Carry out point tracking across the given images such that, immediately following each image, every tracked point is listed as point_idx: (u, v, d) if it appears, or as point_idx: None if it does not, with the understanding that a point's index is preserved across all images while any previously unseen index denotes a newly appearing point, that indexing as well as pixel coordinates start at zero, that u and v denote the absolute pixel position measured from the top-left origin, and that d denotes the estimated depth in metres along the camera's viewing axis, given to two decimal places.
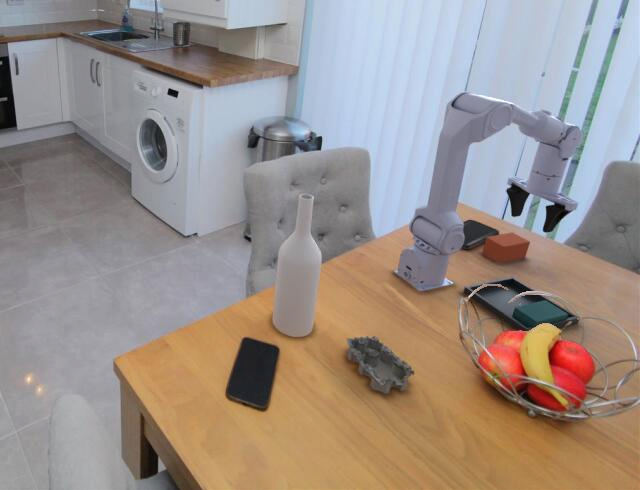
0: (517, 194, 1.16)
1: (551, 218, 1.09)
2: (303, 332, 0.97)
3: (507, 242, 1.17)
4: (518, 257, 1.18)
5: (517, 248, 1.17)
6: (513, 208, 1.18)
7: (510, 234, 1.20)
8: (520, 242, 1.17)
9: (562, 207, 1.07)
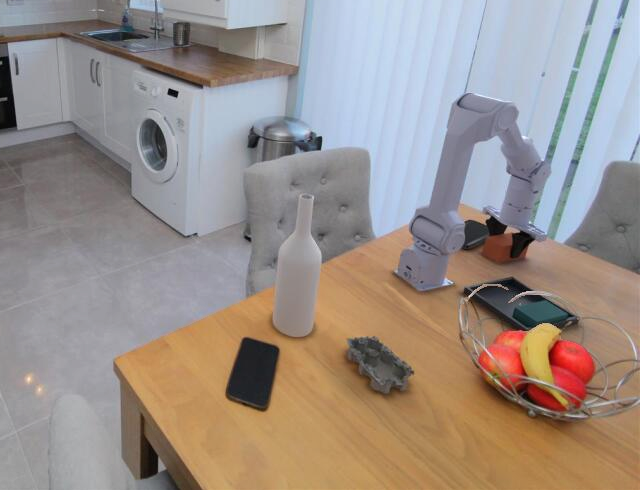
0: (496, 225, 1.19)
1: (517, 245, 1.14)
2: (303, 332, 0.97)
3: (507, 242, 1.17)
4: (518, 257, 1.18)
5: None
6: None
7: (510, 234, 1.20)
8: None
9: (527, 235, 1.13)
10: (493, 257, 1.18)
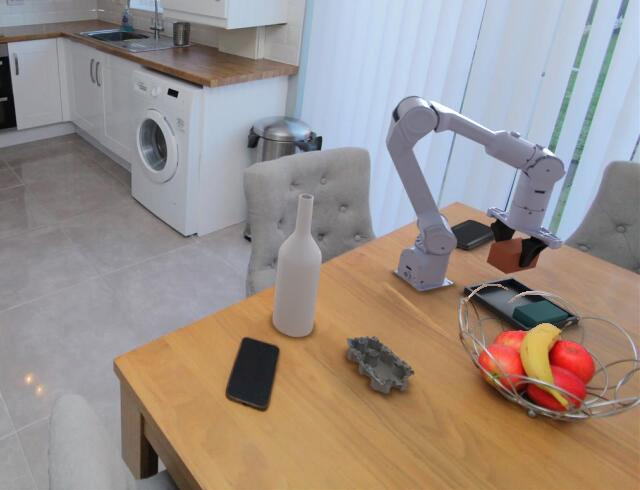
0: (502, 230, 1.04)
1: (527, 253, 1.00)
2: (303, 332, 0.97)
3: (515, 248, 1.02)
4: None
5: None
6: None
7: (518, 239, 1.06)
8: None
9: (539, 241, 0.98)
10: (500, 266, 1.04)
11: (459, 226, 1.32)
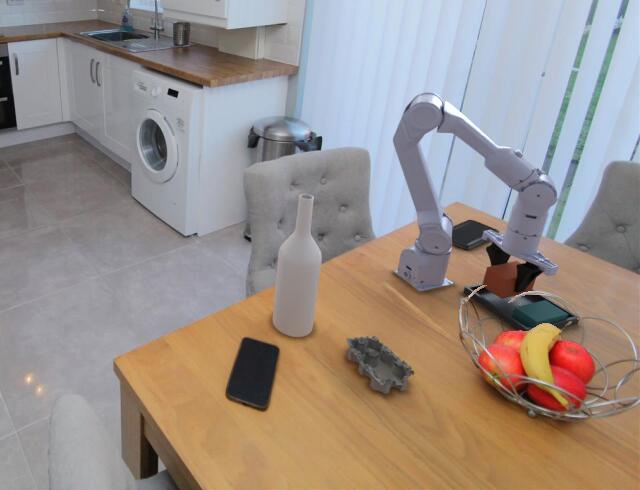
0: (498, 254, 1.03)
1: (522, 278, 0.99)
2: (303, 332, 0.97)
3: (511, 273, 1.01)
4: None
5: None
6: None
7: (514, 263, 1.04)
8: None
9: (534, 267, 0.97)
10: (495, 290, 1.03)
11: (459, 226, 1.32)
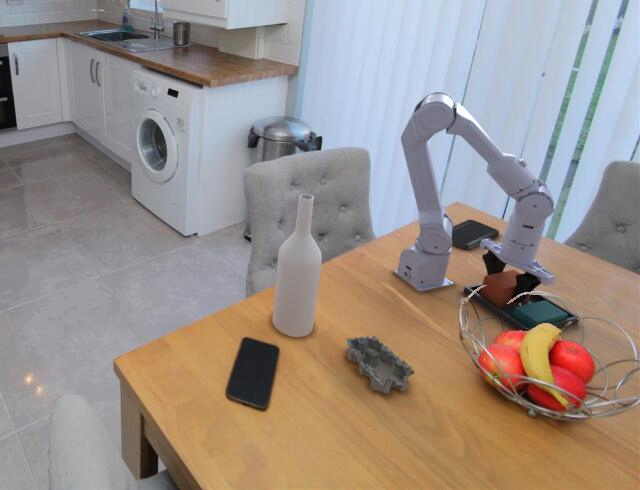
0: (494, 262, 1.05)
1: (522, 288, 0.99)
2: (303, 332, 0.97)
3: (508, 282, 1.02)
4: None
5: None
6: None
7: (512, 272, 1.05)
8: None
9: (533, 278, 0.97)
10: (492, 299, 1.03)
11: (459, 226, 1.32)
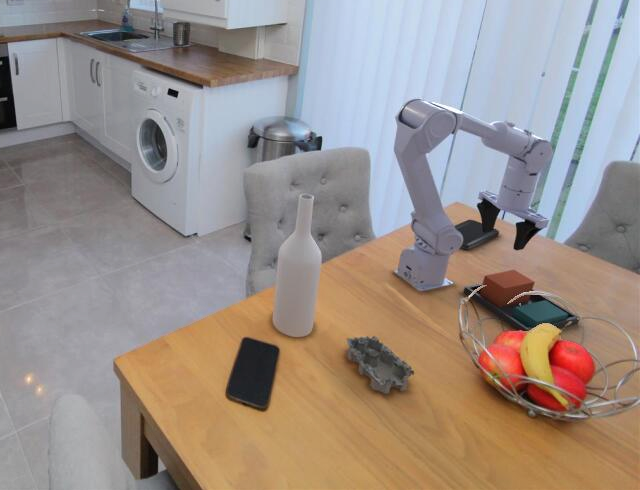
0: (488, 209, 1.11)
1: (521, 236, 1.04)
2: (303, 332, 0.97)
3: (508, 282, 1.02)
4: (521, 299, 1.03)
5: (520, 289, 1.02)
6: (484, 224, 1.13)
7: (512, 272, 1.05)
8: (524, 283, 1.02)
9: (532, 224, 1.02)
10: (492, 299, 1.03)
11: (459, 226, 1.32)
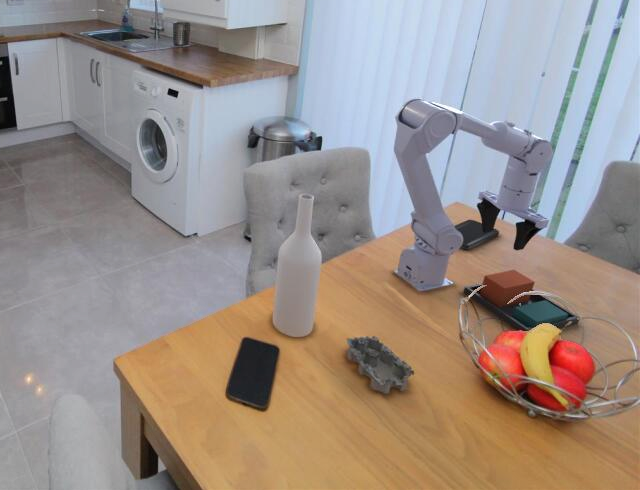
0: (488, 209, 1.11)
1: (521, 236, 1.04)
2: (303, 332, 0.97)
3: (508, 282, 1.02)
4: (521, 299, 1.03)
5: (520, 289, 1.02)
6: (484, 224, 1.13)
7: (512, 272, 1.05)
8: (524, 283, 1.02)
9: (532, 224, 1.02)
10: (492, 299, 1.03)
11: (459, 226, 1.32)
